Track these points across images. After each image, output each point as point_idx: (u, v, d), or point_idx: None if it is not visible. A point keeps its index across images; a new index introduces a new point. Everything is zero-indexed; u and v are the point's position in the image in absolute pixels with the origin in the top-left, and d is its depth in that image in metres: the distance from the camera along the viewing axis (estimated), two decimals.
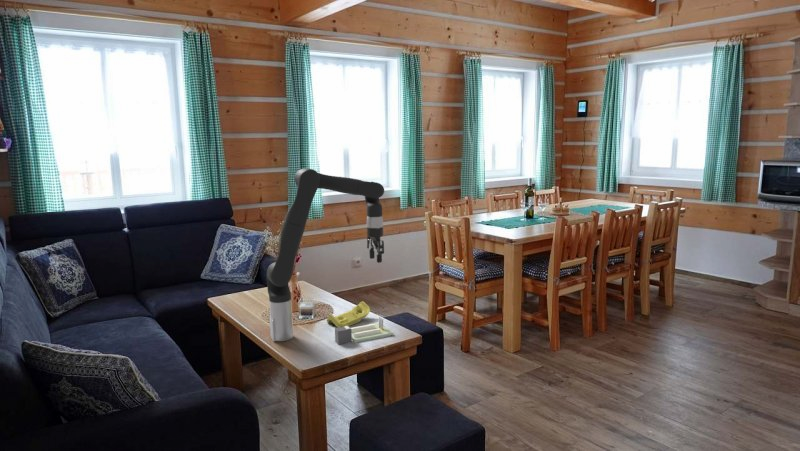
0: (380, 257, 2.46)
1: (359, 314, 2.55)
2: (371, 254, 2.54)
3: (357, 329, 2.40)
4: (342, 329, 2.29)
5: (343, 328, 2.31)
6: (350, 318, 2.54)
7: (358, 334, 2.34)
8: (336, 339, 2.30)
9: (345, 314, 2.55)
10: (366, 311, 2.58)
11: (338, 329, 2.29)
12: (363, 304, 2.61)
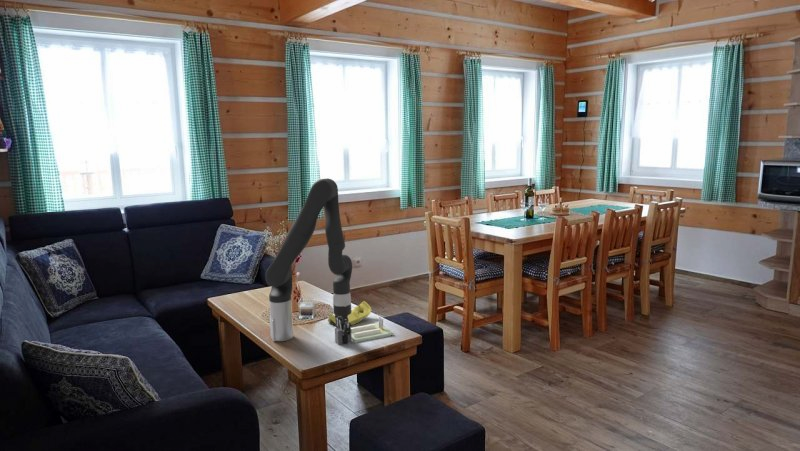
0: (346, 338, 2.28)
1: (360, 314, 2.56)
2: None
3: (357, 329, 2.40)
4: None
5: None
6: (351, 318, 2.54)
7: (358, 334, 2.34)
8: (336, 339, 2.30)
9: None
10: (367, 311, 2.58)
11: (338, 329, 2.29)
12: (365, 304, 2.61)
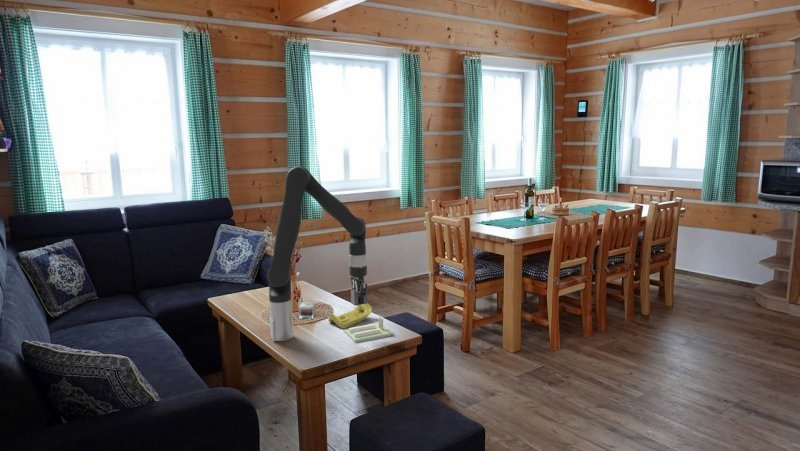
0: (362, 299, 2.32)
1: (361, 314, 2.56)
2: None
3: (357, 329, 2.40)
4: None
5: None
6: (352, 318, 2.54)
7: (358, 334, 2.34)
8: (352, 300, 2.34)
9: (347, 314, 2.56)
10: (368, 311, 2.59)
11: (354, 290, 2.34)
12: (365, 304, 2.61)
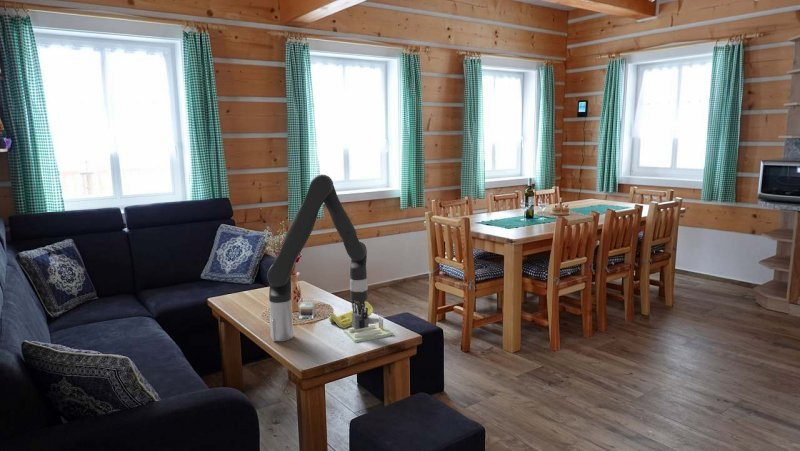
0: (363, 323, 2.34)
1: None
2: None
3: (357, 329, 2.40)
4: None
5: None
6: None
7: (358, 334, 2.34)
8: (353, 324, 2.36)
9: (348, 314, 2.56)
10: (369, 311, 2.58)
11: (355, 314, 2.36)
12: (367, 304, 2.61)
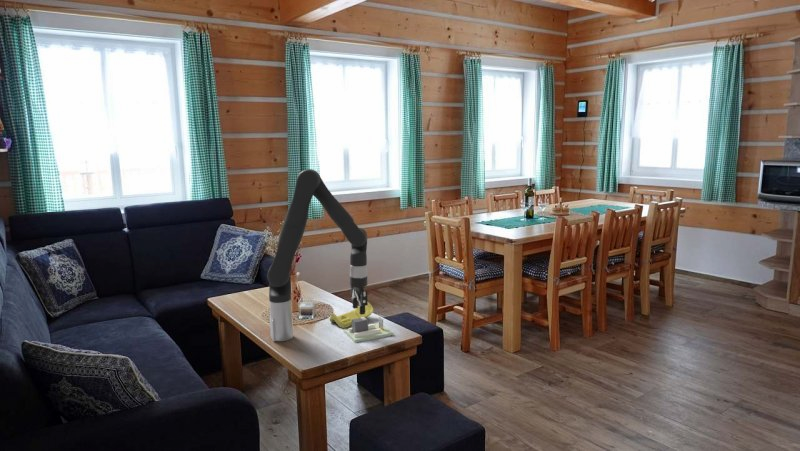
0: (363, 309, 2.31)
1: (362, 314, 2.56)
2: (354, 304, 2.39)
3: None
4: (359, 320, 2.36)
5: (360, 319, 2.37)
6: (353, 318, 2.54)
7: (358, 334, 2.34)
8: (353, 330, 2.37)
9: (348, 314, 2.56)
10: (369, 311, 2.58)
11: (355, 320, 2.36)
12: None
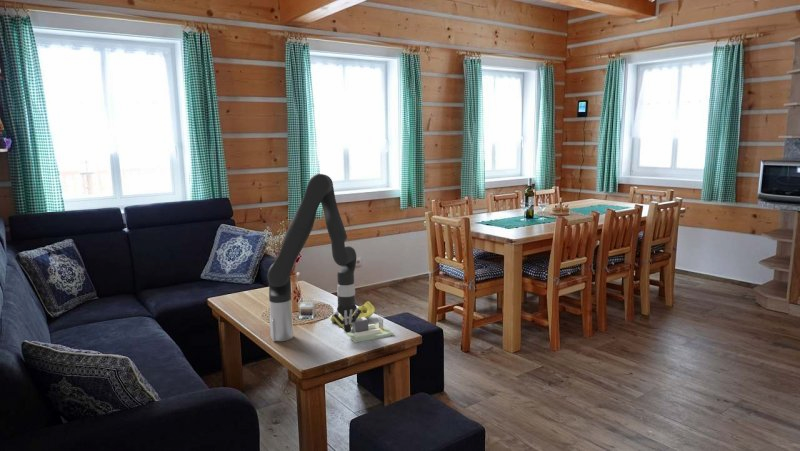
0: (344, 327, 2.34)
1: (363, 314, 2.56)
2: None
3: None
4: (359, 320, 2.36)
5: (360, 319, 2.37)
6: None
7: (358, 334, 2.34)
8: (353, 329, 2.37)
9: None
10: (371, 311, 2.58)
11: None
12: (368, 304, 2.61)
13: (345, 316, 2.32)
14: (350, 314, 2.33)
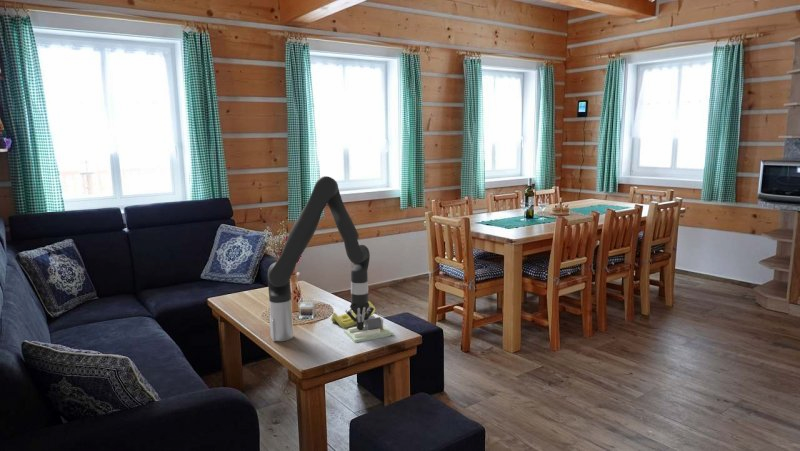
0: (357, 324, 2.37)
1: None
2: None
3: (357, 329, 2.40)
4: (371, 318, 2.39)
5: (372, 317, 2.40)
6: None
7: (358, 334, 2.34)
8: (366, 327, 2.39)
9: None
10: None
11: (368, 318, 2.39)
12: (369, 304, 2.61)
13: (358, 314, 2.34)
14: (363, 312, 2.35)
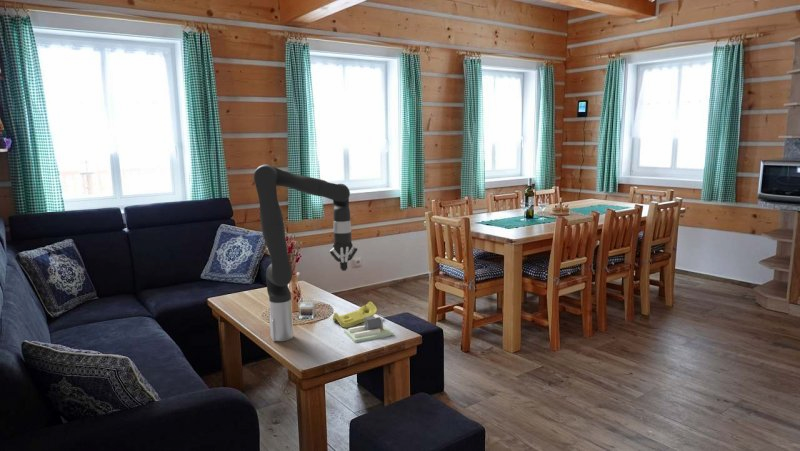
0: (340, 265, 2.34)
1: (365, 314, 2.55)
2: None
3: (357, 329, 2.40)
4: (371, 318, 2.39)
5: (372, 317, 2.40)
6: (356, 318, 2.54)
7: (358, 334, 2.34)
8: (365, 327, 2.39)
9: (351, 313, 2.56)
10: (373, 311, 2.58)
11: (368, 318, 2.39)
12: (371, 304, 2.61)
13: (341, 253, 2.32)
14: (346, 252, 2.32)
